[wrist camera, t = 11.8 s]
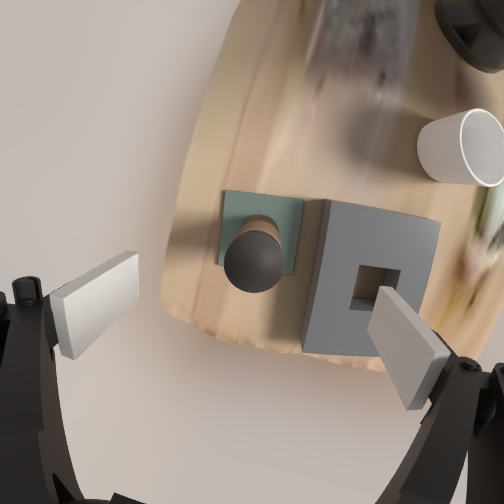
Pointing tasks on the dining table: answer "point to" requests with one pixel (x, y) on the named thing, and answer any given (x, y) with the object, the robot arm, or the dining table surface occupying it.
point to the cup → (463, 149)
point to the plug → (255, 256)
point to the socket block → (346, 269)
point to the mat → (275, 207)
